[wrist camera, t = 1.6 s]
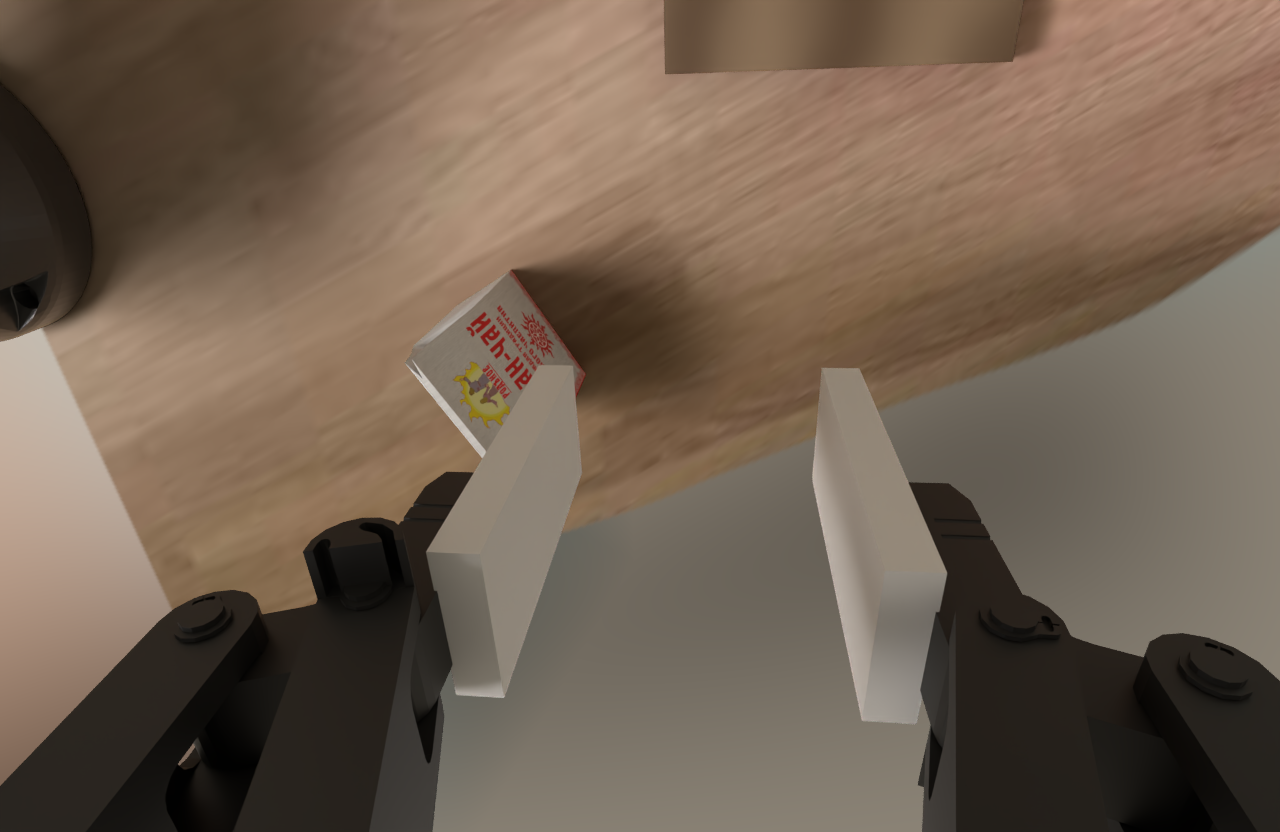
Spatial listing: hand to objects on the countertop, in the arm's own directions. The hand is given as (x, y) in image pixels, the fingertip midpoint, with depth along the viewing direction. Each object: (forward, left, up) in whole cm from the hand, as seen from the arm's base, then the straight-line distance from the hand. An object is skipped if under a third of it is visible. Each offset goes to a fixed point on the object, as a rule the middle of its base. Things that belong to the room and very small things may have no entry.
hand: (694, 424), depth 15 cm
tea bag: (-10, -6, -21) cm, 24 cm away
